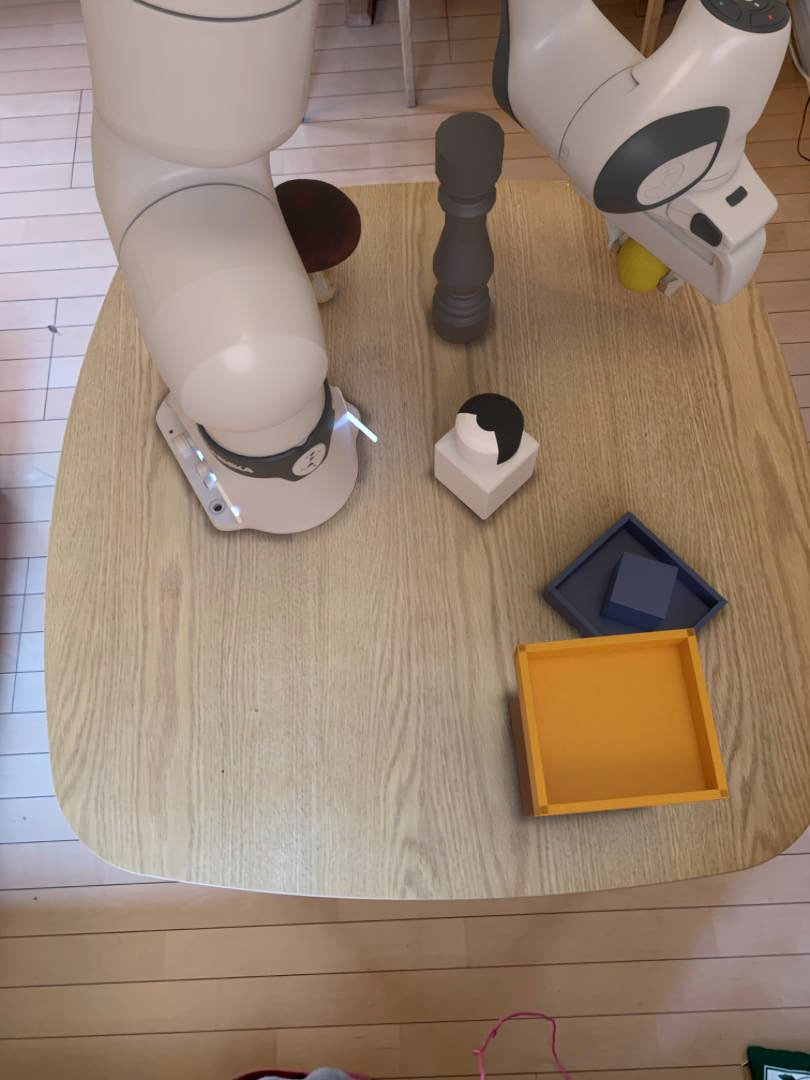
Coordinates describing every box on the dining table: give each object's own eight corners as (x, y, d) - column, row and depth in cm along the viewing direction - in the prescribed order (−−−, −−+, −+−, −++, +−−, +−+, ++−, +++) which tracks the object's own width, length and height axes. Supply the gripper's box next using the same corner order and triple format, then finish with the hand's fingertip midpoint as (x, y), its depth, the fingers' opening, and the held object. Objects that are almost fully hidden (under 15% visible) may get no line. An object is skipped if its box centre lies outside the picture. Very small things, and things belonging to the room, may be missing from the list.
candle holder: (453, 286, 94) (459, 97, 70) (500, 314, 92) (523, 130, 69) (420, 326, 92) (416, 146, 68) (467, 354, 91) (480, 180, 67)
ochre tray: (511, 824, 74) (540, 815, 54) (495, 696, 78) (517, 644, 58) (650, 811, 74) (729, 797, 54) (628, 684, 78) (694, 627, 58)
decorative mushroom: (356, 244, 96) (343, 140, 82) (380, 323, 92) (370, 228, 78) (261, 266, 95) (232, 165, 81) (282, 347, 92) (254, 256, 77)
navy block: (599, 615, 80) (609, 600, 75) (613, 567, 81) (624, 550, 77) (651, 632, 79) (665, 618, 74) (664, 584, 81) (678, 567, 76)
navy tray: (541, 596, 81) (545, 586, 78) (622, 522, 83) (629, 510, 81) (636, 690, 78) (644, 684, 75) (718, 610, 80) (728, 601, 77)
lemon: (658, 311, 89) (681, 261, 82) (606, 303, 90) (623, 252, 82) (663, 269, 91) (685, 216, 84) (611, 261, 91) (629, 207, 84)
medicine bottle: (481, 431, 87) (488, 368, 76) (533, 475, 85) (548, 418, 74) (432, 475, 86) (432, 419, 75) (484, 522, 84) (491, 471, 73)
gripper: (570, 120, 77) (548, 226, 90) (746, 255, 71) (696, 348, 84) (618, 84, 78) (589, 194, 91) (794, 214, 73) (737, 312, 86)
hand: (641, 269), depth 88 cm, fingers closed on lemon, 5 cm apart
